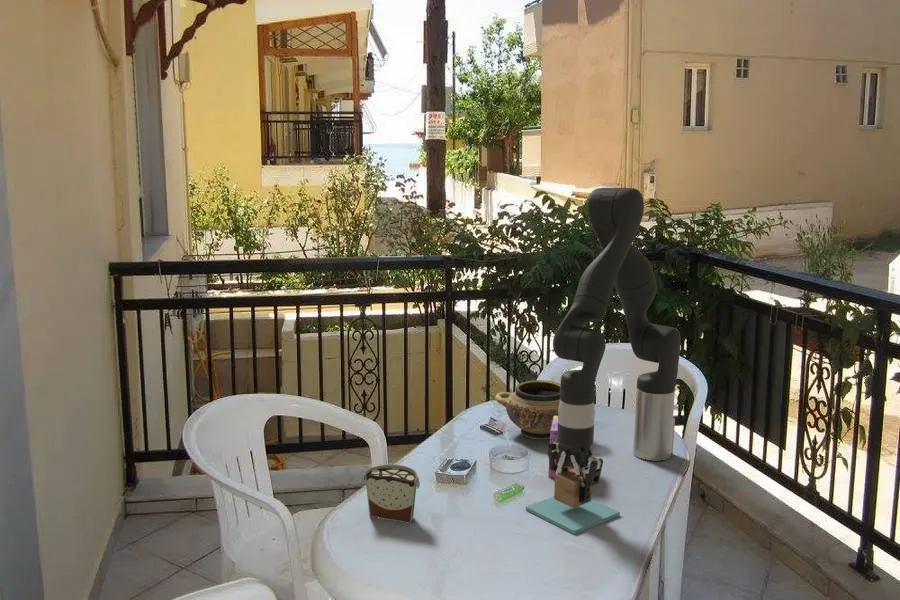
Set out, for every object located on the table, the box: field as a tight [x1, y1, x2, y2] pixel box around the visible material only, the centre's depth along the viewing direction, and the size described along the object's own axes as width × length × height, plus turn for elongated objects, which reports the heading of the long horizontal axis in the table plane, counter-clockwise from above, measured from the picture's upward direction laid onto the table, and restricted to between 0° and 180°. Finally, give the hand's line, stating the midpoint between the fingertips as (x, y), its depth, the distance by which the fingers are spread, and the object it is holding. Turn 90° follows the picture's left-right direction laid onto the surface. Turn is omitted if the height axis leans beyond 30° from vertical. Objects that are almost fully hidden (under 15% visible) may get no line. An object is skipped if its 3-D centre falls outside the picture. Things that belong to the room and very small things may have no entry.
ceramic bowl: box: [494, 379, 560, 440], centre depth 227 cm, size 24×18×15 cm
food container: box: [362, 464, 421, 524], centre depth 179 cm, size 12×6×10 cm, turn 71°
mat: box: [525, 495, 621, 535], centre depth 181 cm, size 14×14×1 cm
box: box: [547, 416, 573, 479], centre depth 203 cm, size 10×6×12 cm, turn 168°
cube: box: [553, 469, 593, 508], centre depth 180 cm, size 6×6×6 cm
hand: (572, 496), depth 180 cm, fingers closed on cube, 5 cm apart
